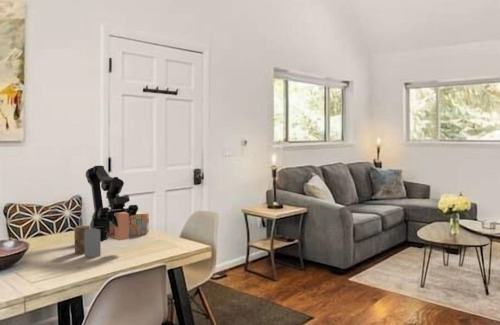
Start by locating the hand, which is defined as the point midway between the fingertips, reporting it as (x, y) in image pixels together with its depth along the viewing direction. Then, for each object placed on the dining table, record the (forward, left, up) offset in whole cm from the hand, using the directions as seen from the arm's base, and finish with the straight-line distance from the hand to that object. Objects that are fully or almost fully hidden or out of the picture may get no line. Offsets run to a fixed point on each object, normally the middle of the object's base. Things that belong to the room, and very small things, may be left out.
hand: (122, 225), depth 208 cm
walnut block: (-20, -5, -13) cm, 24 cm away
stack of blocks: (-22, +39, -14) cm, 47 cm away
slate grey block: (-11, -9, -13) cm, 19 cm away
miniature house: (-40, +41, -14) cm, 59 cm away
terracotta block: (-1, +1, -7) cm, 7 cm away
